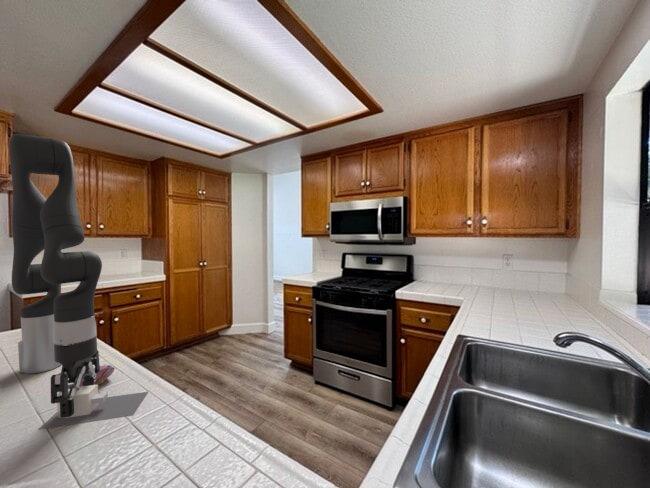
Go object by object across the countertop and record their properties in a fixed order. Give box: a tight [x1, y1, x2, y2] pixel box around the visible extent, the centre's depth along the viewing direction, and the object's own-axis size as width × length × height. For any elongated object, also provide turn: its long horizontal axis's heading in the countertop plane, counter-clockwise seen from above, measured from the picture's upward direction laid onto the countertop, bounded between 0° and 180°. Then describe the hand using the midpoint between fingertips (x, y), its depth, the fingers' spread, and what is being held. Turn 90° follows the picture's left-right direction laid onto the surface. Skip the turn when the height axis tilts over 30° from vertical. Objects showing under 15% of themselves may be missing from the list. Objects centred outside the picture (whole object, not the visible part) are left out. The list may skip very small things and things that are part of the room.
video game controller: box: [79, 363, 115, 387], centre depth 77 cm, size 10×5×7 cm, turn 169°
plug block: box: [56, 384, 109, 418], centre depth 67 cm, size 9×4×5 cm, turn 104°
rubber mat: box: [38, 391, 149, 431], centre depth 67 cm, size 18×10×1 cm, turn 105°
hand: (78, 404), depth 66 cm, fingers open, 8 cm apart
